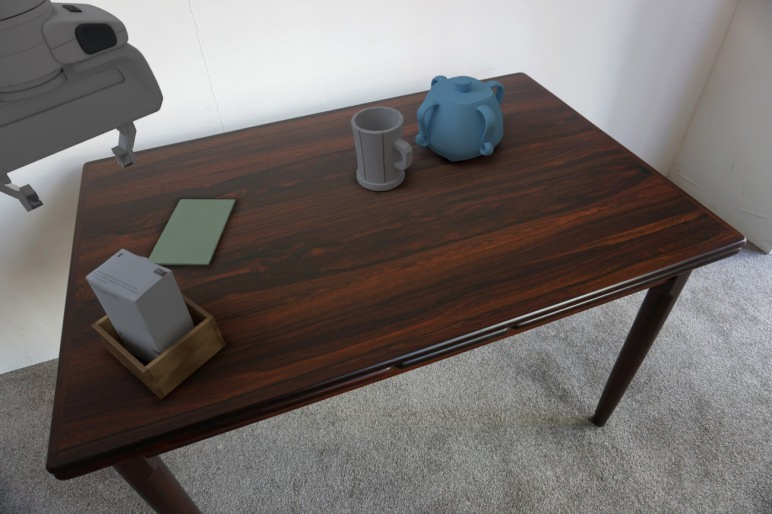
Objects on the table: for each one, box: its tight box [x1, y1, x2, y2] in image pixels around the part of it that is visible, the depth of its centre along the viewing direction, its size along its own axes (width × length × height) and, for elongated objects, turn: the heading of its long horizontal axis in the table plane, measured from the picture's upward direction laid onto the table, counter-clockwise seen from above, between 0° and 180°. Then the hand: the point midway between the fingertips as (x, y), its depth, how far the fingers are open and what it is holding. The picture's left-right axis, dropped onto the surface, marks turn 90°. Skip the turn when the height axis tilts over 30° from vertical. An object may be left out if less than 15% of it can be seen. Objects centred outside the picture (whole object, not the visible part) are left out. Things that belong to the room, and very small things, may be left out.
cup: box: [350, 105, 413, 192], centre depth 91 cm, size 10×9×12 cm
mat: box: [148, 198, 237, 267], centre depth 87 cm, size 16×10×1 cm, turn 177°
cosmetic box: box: [85, 248, 195, 364], centre depth 65 cm, size 8×6×15 cm
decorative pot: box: [414, 74, 505, 162], centre depth 98 cm, size 16×16×14 cm
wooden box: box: [91, 292, 226, 400], centre depth 68 cm, size 10×12×6 cm
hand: (83, 183), depth 52 cm, fingers open, 8 cm apart
